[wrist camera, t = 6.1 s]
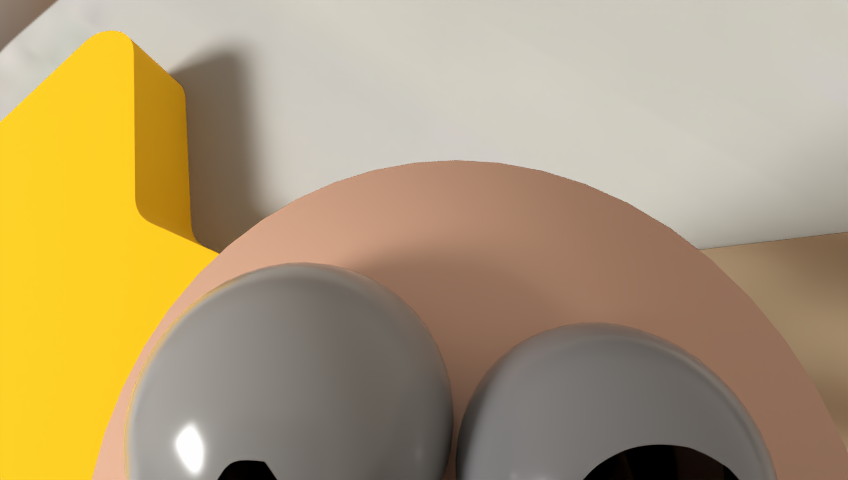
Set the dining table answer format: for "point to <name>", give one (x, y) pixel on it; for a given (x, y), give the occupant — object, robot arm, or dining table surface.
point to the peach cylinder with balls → (466, 347)
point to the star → (87, 248)
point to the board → (802, 304)
